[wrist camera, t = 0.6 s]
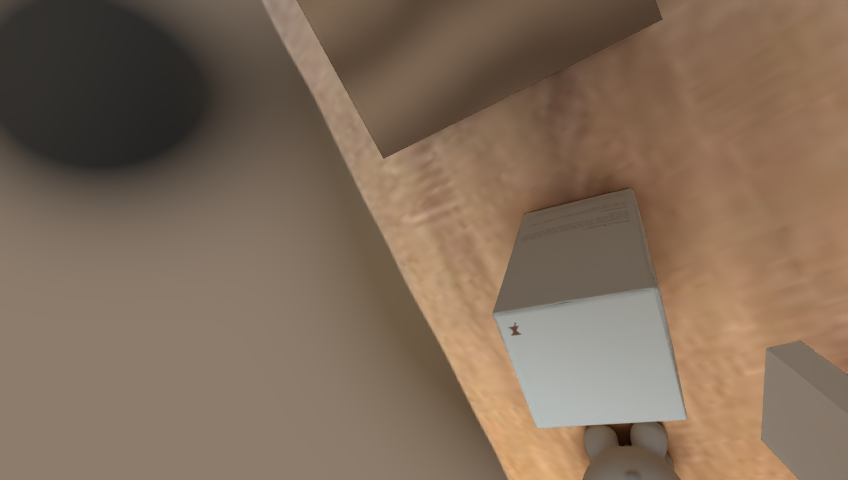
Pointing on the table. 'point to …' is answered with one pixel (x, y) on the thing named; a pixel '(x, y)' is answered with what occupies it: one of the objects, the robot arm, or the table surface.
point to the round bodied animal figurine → (628, 454)
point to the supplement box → (588, 317)
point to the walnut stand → (457, 53)
